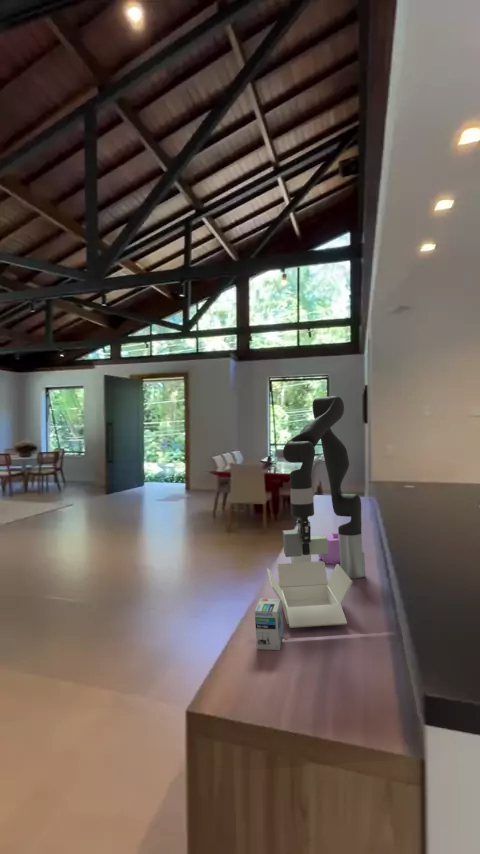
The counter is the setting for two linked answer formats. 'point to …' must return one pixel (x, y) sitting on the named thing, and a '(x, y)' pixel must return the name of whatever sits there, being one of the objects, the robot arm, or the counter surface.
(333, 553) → the teakettle
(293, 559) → the milk carton
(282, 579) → the carton
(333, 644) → the counter surface
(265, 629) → the light bulb box
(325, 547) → the box
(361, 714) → the counter surface
